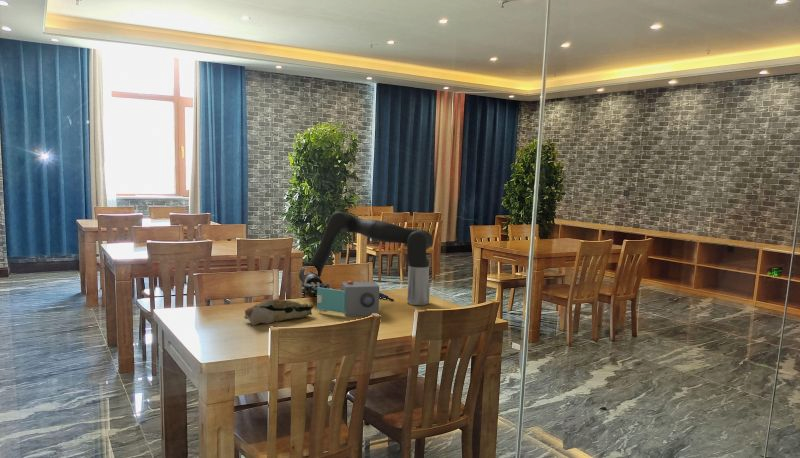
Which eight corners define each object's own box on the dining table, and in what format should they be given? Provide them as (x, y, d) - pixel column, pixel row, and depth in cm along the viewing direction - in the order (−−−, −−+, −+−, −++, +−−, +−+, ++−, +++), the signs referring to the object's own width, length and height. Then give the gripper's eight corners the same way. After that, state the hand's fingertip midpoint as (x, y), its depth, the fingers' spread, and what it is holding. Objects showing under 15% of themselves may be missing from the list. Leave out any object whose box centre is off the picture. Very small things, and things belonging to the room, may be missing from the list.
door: (318, 308, 229) (318, 287, 228) (344, 312, 224) (345, 290, 223) (315, 309, 228) (316, 287, 227) (342, 313, 222) (343, 291, 221)
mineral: (307, 293, 226) (318, 301, 218) (304, 314, 228) (315, 323, 220) (245, 295, 210) (255, 305, 202) (242, 318, 212) (251, 328, 204)
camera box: (373, 308, 237) (374, 279, 236) (379, 315, 226) (380, 284, 225) (341, 309, 234) (341, 279, 232) (345, 317, 222) (346, 285, 221)
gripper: (298, 275, 251) (302, 283, 234) (327, 275, 254) (333, 282, 238) (298, 291, 252) (302, 300, 235) (327, 290, 255) (332, 299, 238)
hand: (317, 291), depth 236 cm, fingers closed
